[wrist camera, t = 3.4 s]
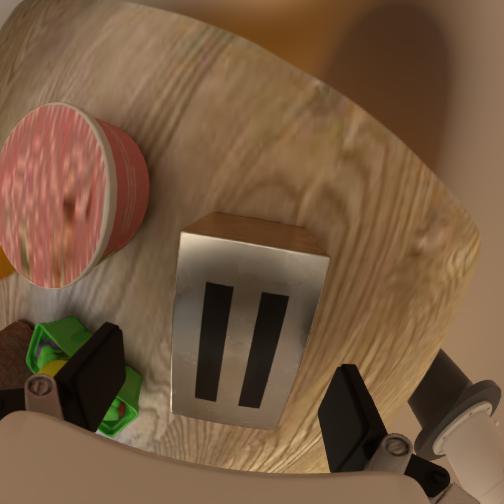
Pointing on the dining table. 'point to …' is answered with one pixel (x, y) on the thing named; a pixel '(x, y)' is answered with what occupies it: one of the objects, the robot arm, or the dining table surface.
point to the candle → (14, 355)
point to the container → (68, 194)
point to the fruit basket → (62, 349)
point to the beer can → (5, 265)
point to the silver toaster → (242, 317)
